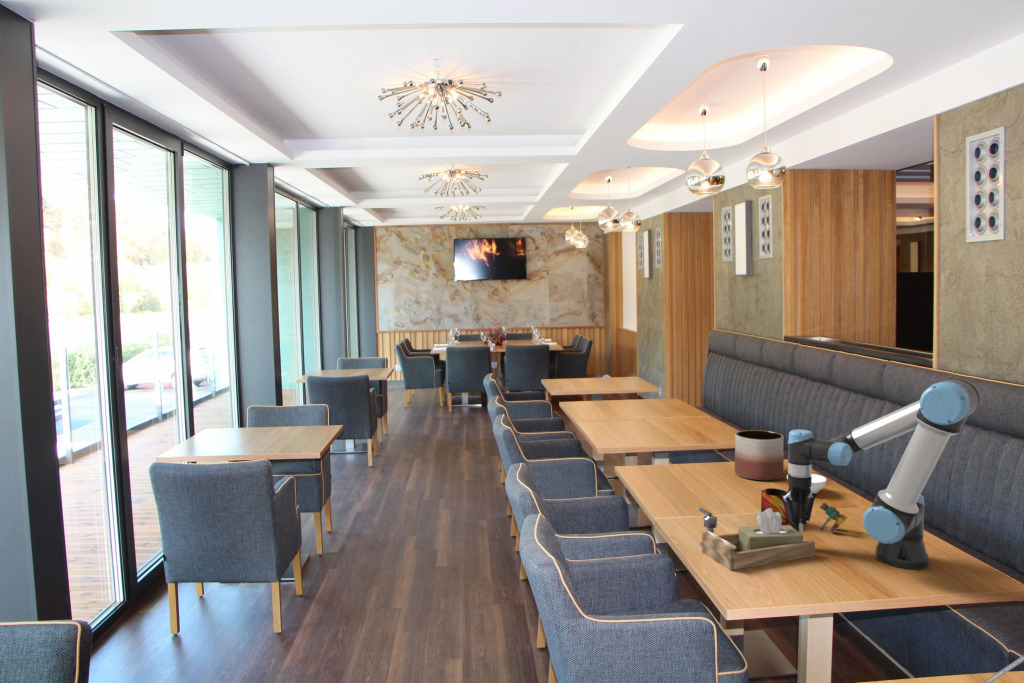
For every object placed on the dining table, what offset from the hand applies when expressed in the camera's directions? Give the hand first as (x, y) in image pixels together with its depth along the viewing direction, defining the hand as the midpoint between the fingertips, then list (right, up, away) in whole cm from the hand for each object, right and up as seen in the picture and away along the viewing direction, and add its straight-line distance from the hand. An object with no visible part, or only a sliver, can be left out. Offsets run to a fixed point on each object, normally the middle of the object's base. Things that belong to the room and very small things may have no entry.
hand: (798, 541), depth 226 cm
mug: (+3, -1, +24) cm, 24 cm away
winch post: (-31, -2, +3) cm, 31 cm away
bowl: (+30, +3, +60) cm, 67 cm away
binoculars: (+19, -1, +14) cm, 24 cm away
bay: (-16, -3, -5) cm, 17 cm away
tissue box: (-12, -3, -4) cm, 13 cm away
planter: (+19, +4, +88) cm, 90 cm away
